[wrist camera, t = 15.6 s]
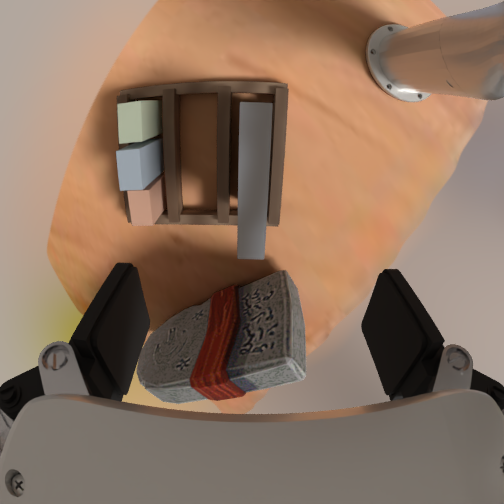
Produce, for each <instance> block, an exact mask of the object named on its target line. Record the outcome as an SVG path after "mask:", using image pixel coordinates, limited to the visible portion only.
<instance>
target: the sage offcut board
mask: <svg viewBox="0 0 504 504" xmlns="http://www.w3.org/2000/svg"><path fill="white" fill-rule="evenodd" d="M117 107H118V132H119V144H122V143H131V142H142V141H145V140H147V139H150V138H152V137H154V136H157V135H159V134H162V133H163V129H162V100H146V101H135V102H128V103H121V104H117Z"/></svg>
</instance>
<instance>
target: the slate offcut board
mask: <svg viewBox="0 0 504 504" xmlns="http://www.w3.org/2000/svg"><path fill="white" fill-rule="evenodd" d="M116 158H117V169H118V178H119V186H120V191H125V190H143V189H144V188H145V187H146V186H147V185H149V184H150V183H151V182H152V181H153V180H154V179H155V178H156V177H157V176H159V175H160V174H161V173H162V172H163V171H164V156H163V138H156V139H147V140H145V141H142V142H136V143H134V144H131V145H129V146H126V147H124V148H122V149H120V150H117V151H116Z"/></svg>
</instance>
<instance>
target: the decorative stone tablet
mask: <svg viewBox="0 0 504 504" xmlns="http://www.w3.org/2000/svg"><path fill="white" fill-rule="evenodd" d="M137 375H138V378H139V381H140V384H142V385H143V386H144V387H145V389H146V390H147V391H149V392H150V393H151V394H153V395H154V396H156V397H157V398H159V399H160V400H161V401H163V402H169V403H176V404H180V403H188V402H194V401H200V400H205V399H210V400H216V401H218V400H225V399H231V398H236V397H242V396H244V395H245V394H246V392H251V391H256V390H262V389H267V388H271V387H276V386H281V385H285V384H289V383H294V382H298V381H302V380H303V379H304V378H305V376H306V341H305V323H304V318H303V313H302V308H301V303H300V298H299V293H298V289H297V287H296V285H295V284H294V282H293V280H292V279H291V277H290V276H289V274H288V272H287V271H286V270H282V271H278V272H276V273H273V274H271V275H269V276H266V277H264V278H262V279H259V280H257V281H255V282H252V283H250V284H248V285H245V286H243V287H240V286H239V285H233V286H230V287H228V288H226V289H223V290H221V291H219V292H216V293H214V294H213V295H212V297H211V298H210V299H209V300H207V301H206V302H204V303H203V304H202V305H198V306H192V307H189V308H187V309H185V310H183V311H181V312H180V313H178V314H176V315H175V316H173V317H171V318H170V319H168V320H167V321H166V322H165V323H164V324H162V325H161V326H160V327H159V328H158V329H156V330H155V331H154V332H153V333H152V334H151V335H150V336H149V338H148V340H147V341H146V343H145V345H144V346H143V348H142V350H141V353H140V356H139V360H138V366H137Z"/></svg>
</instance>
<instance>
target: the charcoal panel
mask: <svg viewBox="0 0 504 504" xmlns="http://www.w3.org/2000/svg"><path fill="white" fill-rule="evenodd" d="M272 108H273V103H260V102H240V120H239V165H238V241H237V259H264V255H265V239H266V222H267V205H268V188H269V169H270V150H271V129H272Z"/></svg>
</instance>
